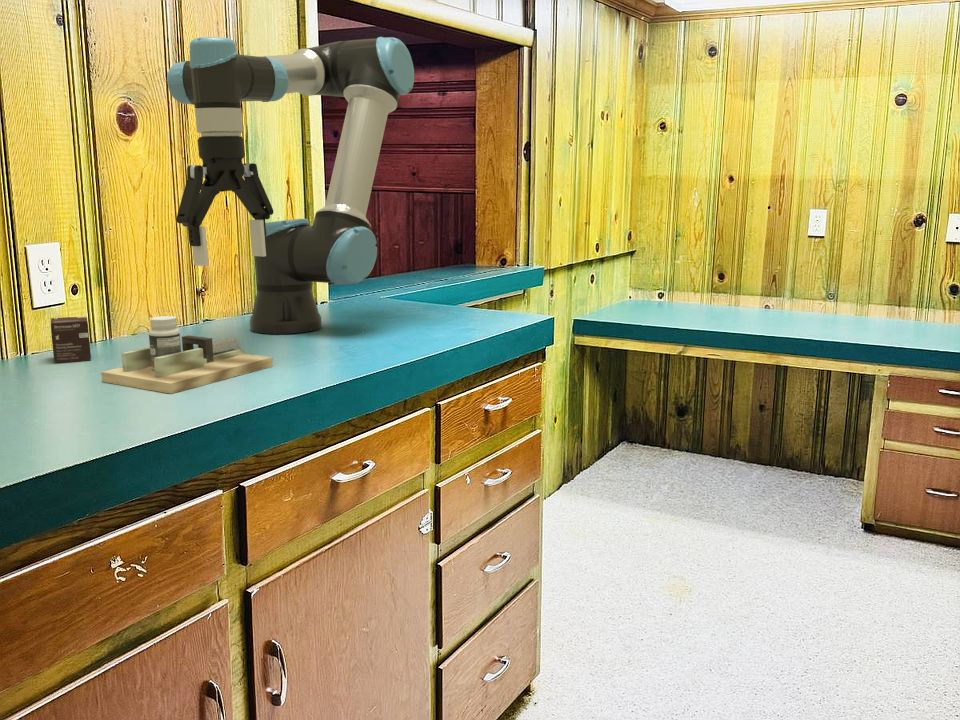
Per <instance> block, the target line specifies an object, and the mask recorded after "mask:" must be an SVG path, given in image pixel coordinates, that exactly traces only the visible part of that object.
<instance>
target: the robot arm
mask: <svg viewBox="0 0 960 720" xmlns="http://www.w3.org/2000/svg"><path fill="white" fill-rule="evenodd" d="M238 52H239V51H238V50H237V44H236V42H235V41H234V40H233V39H231V38H229V37H220V36H219V37H218V36H205V37H203V36H200V37H195V38H193V39H192V40H191V41H190V42H189V60H185V61H181V62H176V63H173V65H171V67H170V68H169V70H168V72H167V77H166V82H167V86H168V87H167V88H168V90H169V93H170V95H171V96H172V98H173V99H174V100H175V101H177V103H180V104H182V105H183V104H184V105H194V115H195V126H196V128H195V129H196V133H198V134H200V136H199V137H198V138H197V146H198V148H197V150H198V157H199V159H201V160H202V165H201V164H199V165H197V164H196V165H187V167H186V182H185V186H184V189H183V192H182V196H181V199H180V200H181V201H180V204H179V207H178V211H177V215H176V218H175V221H176V223H178V224H182V226H183V227H187V235H188V243H189V246H190V247H191V248H192V258H193V266H199V267H200V266H202V267H208V266H210V262H209V254H208V253H209V252H208V251H209V249H208V241H207V233H206V232H207V231H206V226H201V225H202V224H203V221H204V220H205V217H206V216H207V214H208V212H209V210H210V208H211V206H212V204H213V202H214V200H215V198H216V196H217V195H219V194H220V192H232V193H234V194H235V195H236V197H237V198H238V199H239V202H241V203H242V205H243V206H244V208H245V209H246V211H248V214H249V215H250V216H251V217H252V218H253V219H249V220H248V221H249V222H248V223H249V232H250V233H249V234H250V245H251V256H252V257H254V259H253V260H254V272H255V285H256V290H255V291H256V295H255V300H254V303H253V309H252V313H251V314H252V315H251V316H250V318H249V327H250V331H252V332H254V333H259V334H269V335H270V334H271V335H275V334H276V335H278V334H279V335H284V334H285V335H286V334H300V333H308V332H312V331H317V330H320V329H321V328H322V327H323V326H322V316H321V314H320V313H319V309H318V307H317V303H316V299H315V297H314V293H313V287H312V282H313V283H323V284H335V285H351V284H352V285H354V284H358V283H360V282H361V281H363V280H365V279H366V278H367V277H369V275H370V273H371V272H372V271H373V269H374V266H375V264H376V261H377V257H378V247H377V246H376V245H377V243H378V242H377V238H376V235H375V234H374V233H373V231H372V230H371V229H372V224H371V223H370V222H369V220H368V218H367V211H368V207H369V202H370V198H371V193H372V188H373V186H374V185H373V184H374V179H375V175H376V171H377V166H378V161H379V158H380V157H379V156H380V152H381V149H382V148H381V147H382V144H383V137H384V134H385V128H386V125H387V121H388V116H389V114H390V113H392V112H394V111H395V110H396V109H397V108H398V103H399V98H400V96H405V95H407V94H408V93H410V92H411V91H412V89H413V87H414V83H415V67H414V63H413V60H412V56H411V53H410V51H409V49H408V48H407V46H406V45H405V43H404V42H403V41H402V40H401V39H399V38H396V37H383V36H379V37H377V38H365V39H363V38H362V39H352V40H339V41H334V42H329V43H325V44H322V45H317V46H313V47H307V48H300V49H296V50H295V51H294V52H293V53H292V54H280V55H279V54H278V55H263V56H260V55H259V56H258V55H257V56H256V55H247V54H246V55H245V54H240V53H238ZM292 93H293V94H294V93H298V94H300V95H303V96H307V97H308V96H327V97H328V96H329V97H339V98H341V97H343V98H345V100H346V101H347V103H348V104H347V108H346V113H345V116H344V122H343V125H342V131H341V135H340V138H339V143H338V146H337V147H338V148H337V151H336V152H337V153H336V157H335V161H334V164H333V169H332V174H331V178H330V181H329V183H330V184H329V187H328V191H327V195H326V196H327V197H326V199H325V204H324V207H322V208H320V209H318V210H317V211H316V212H315V215H314V219H313V223H312V225H311V223H310V222H309V219H307V218H296V219H295V218H294V219H285V220H277V221H270V222H269V221H267V222H266V220H270V218H271V215H274V208H273V206H272V203H271V201H270V199H269V197H268V195H267V192H266V190H265V188H264V185H263V183H262V181H261V179H260V177H259V170H258V166H257V163H253V162H251V163H243V159H244V158H245V157H246V153H245V140H244V138H243V136H241V134H242V133H243V132H244V127H243V116H242V115H243V114H242V104H241V103H242V102H263V103H269V102H277V101H279V100H281V99H282V98H284V96H285V95H286V94H287V95H288V94H292ZM240 133H241V134H240Z"/></svg>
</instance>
